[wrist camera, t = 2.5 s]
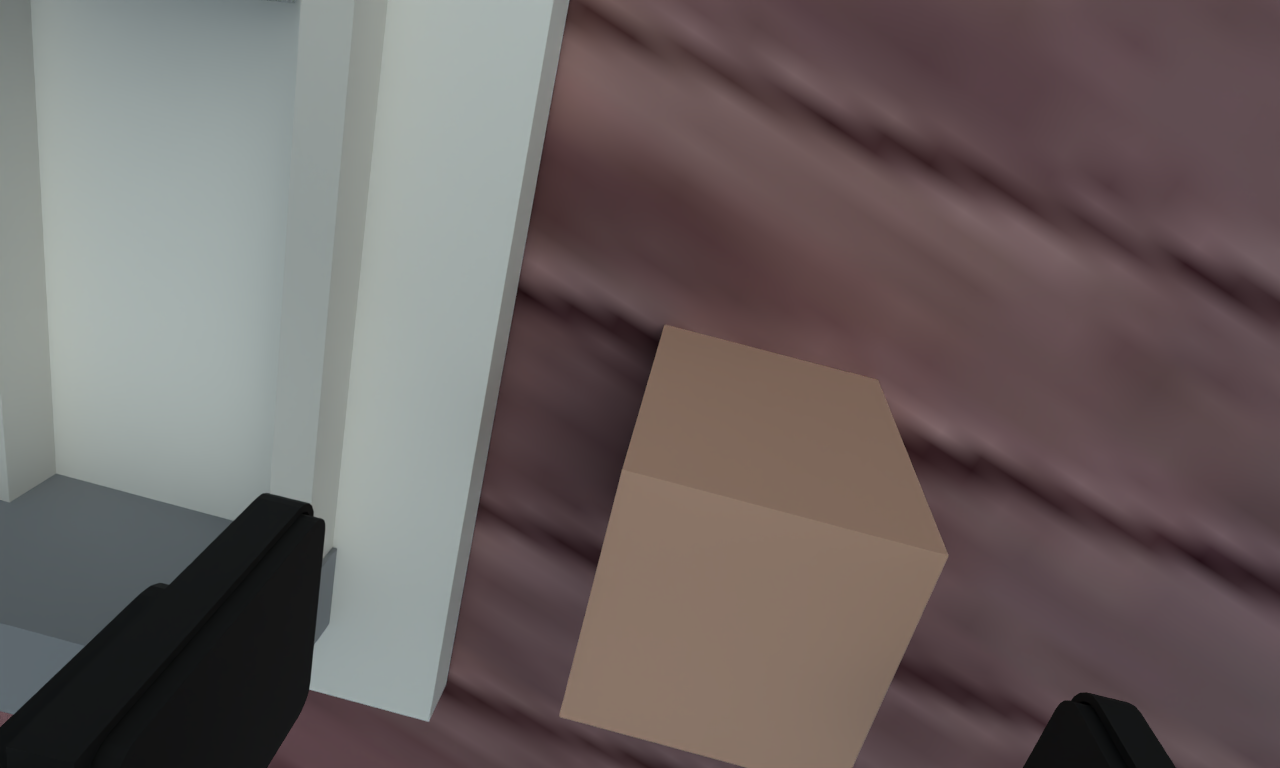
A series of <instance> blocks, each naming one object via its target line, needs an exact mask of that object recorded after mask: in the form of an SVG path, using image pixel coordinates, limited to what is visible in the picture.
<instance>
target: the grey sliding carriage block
mask: <svg viewBox="0 0 1280 768" xmlns="http://www.w3.org/2000/svg"><path fill="white" fill-rule="evenodd" d="M266 1H277V2H287V3H295V0H266Z"/></svg>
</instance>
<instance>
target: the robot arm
mask: <svg viewBox="0 0 1280 768" xmlns="http://www.w3.org/2000/svg"><path fill="white" fill-rule="evenodd" d="M324 539H325V521H324V520H323V519H322V518H317V517H314V511H313V507H312V505H311V504H310V503H307V502H303V501H299V500H295V499H290V498H286V497H282V496H278V495H274V494H270V493H262V494H261V495H260V496H258V497H257V498H256V499H255V500H254V501H253V502H252V503H251V504H250V505H249V506H248V507H247V508H246V509H245V510H244V511H243V512H242V513H241V514H240V515H239V516H238V517H237V518H236V519H235V520H234V521H233V522H232V523H231V524H230V525H229V526H228V527H227V528H226V529H225V530H224V531H223V532H222V533H221V534H220V535H219V536H218V537H217V538H216V539H215V540H214V541H213V542H212V543H211V544H210V545H209V546H208V547H207V548H206V549H205V550H204V551H203V552H202V553H201V554H200V555H199V556H198V557H197V558H196V559H195V560H194V561H193V562H192V563H191V564H190V565H188V566H187V567H186V568H185V569H184V570H183V571H182V572H181V573H180V574H179V575H178V576H177V577H176V578H175V579H174V580H173V581H172V582H171V583H170V584H169V585H168V584H164V583H157V584H154V585H151V586H149V587H148V588H147V589H145V590H144V591H143V592H141V593H140V594H139V595H138V596H137V597H136V598H135V599H134V600H133V601H132V602H131V603H130V604H128V605H127V606H126V607H125V608H124V609H123V610H122V611H121V612H120V613H119V614H118V615H117V616H116V617H115V618H114V619H113V620H112V621H111V622H110V623H109V624H108V625H107V626H106V627H104V628H103V629H102V630H101V631H100V632H99V633H98V634H97V635H96V636H95V637H94V638H93V639H92V640H91V641H90V642H89V643H88V644H87V645H86V646H85V647H84V648H83V649H82V650H80V651H79V652H78V653H77V654H76V655H75V656H74V657H73V658H72V659H71V660H70V661H69V662H68V663H67V664H66V665H65V666H64V667H63V668H62V669H61V670H60V671H59V672H57V673H56V674H55V675H54V676H53V677H52V678H51V679H50V680H49V681H48V682H47V683H46V684H45V685H44V686H43V687H42V688H41V689H40V690H39V691H38V692H37V693H36V694H35V695H33V696H32V697H31V698H30V699H29V700H28V701H27V702H26V703H25V704H24V705H23V706H22V707H21V708H20V709H19V710H18V711H17V712H16V713H15V714H14V715H13V716H12V717H10V718H9V719H8V720H7V721H6V722H5V723H4V724H3V725H2V726H1V727H0V768H267V767H268V765H269V763H270V762H271V760H272V759H273V757H274V755H275V754H276V752H277V750H278V749H279V747H280V746H281V744H282V742H283V741H284V739H285V737H286V736H287V734H288V733H289V731H290V729H291V728H292V726H293V724H294V723H295V721H296V720H297V718H298V716H299V714H300V713H301V711H302V708H303V706H304V704H305V701H306V698H307V695H308V692H309V687H310V681H311V670H312V660H313V650H314V640H315V630H316V620H317V610H318V600H319V590H320V580H321V569H322V559H323V549H324ZM1023 768H1176V767H1175V766H1174V764H1173V762H1172V761H1171V759H1170V758H1169V756H1168V755H1167V753H1166V752H1165V750H1164V748H1163V747H1162V745H1161V744H1160V742H1159V741H1158V739H1157V738H1156V736H1155V734H1154V733H1153V731H1152V730H1151V728H1150V727H1149V725H1148V724H1147V722H1146V720H1145V719H1144V717H1143V716H1142V714H1141V713H1140V712H1139V710H1138V709H1137V708H1136V707H1135V706H1134V705H1132V704H1130V703H1128V702H1124V701H1119V700H1115V699H1111V698H1107V697H1103V696H1099V695H1095V694H1091V693H1079V694H1077V695H1076V696H1074V697H1073V699H1072V700H1071V701H1063V702H1061V703H1060V704H1059V705H1058V707H1057V708H1056V710H1055V712H1054V713H1053V715H1052V717H1051V719H1050V720H1049V722H1048V724H1047V726H1046V728H1045V729H1044V731H1043V733H1042V735H1041V737H1040V738H1039V740H1038V742H1037V744H1036V745H1035V747H1034V749H1033V751H1032V753H1031V754H1030V756H1029V758H1028V760H1027V762H1026V763H1025V765H1024V767H1023Z"/></svg>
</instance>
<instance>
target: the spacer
mask: <svg viewBox="0 0 1280 768" xmlns="http://www.w3.org/2000/svg"><path fill="white" fill-rule="evenodd" d="M947 558H948V553H947V551H946V548H945V546H944V543H943V541H942V538H941V536H940V533H939V531H938V528H937V526H936V523H935V521H934V518H933V516H932V513H931V511H930V508H929V506H928V503H927V501H926V498H925V496H924V493H923V491H922V488H921V486H920V483H919V481H918V478H917V476H916V473H915V471H914V468H913V466H912V463H911V461H910V458H909V456H908V453H907V451H906V448H905V446H904V444H903V441H902V439H901V436H900V434H899V431H898V429H897V426H896V424H895V421H894V419H893V416H892V414H891V411H890V409H889V406H888V404H887V401H886V399H885V396H884V394H883V391H882V389H881V386H880V384H879V381H878V380H877V379H873V378H869V377H865V376H861V375H857V374H854V373H850V372H846V371H842V370H838V369H834V368H831V367H827V366H823V365H819V364H815V363H811V362H807V361H804V360H800V359H796V358H792V357H788V356H784V355H780V354H777V353H773V352H769V351H765V350H761V349H757V348H753V347H750V346H746V345H742V344H738V343H734V342H730V341H727V340H723V339H719V338H715V337H711V336H707V335H703V334H700V333H696V332H692V331H688V330H684V329H680V328H676V327H673V326H669V325H664V328H663V331H662V335H661V338H660V342H659V345H658V349H657V352H656V355H655V359H654V362H653V366H652V369H651V372H650V376H649V379H648V383H647V386H646V390H645V393H644V396H643V400H642V403H641V407H640V410H639V414H638V417H637V420H636V424H635V427H634V431H633V434H632V438H631V441H630V444H629V448H628V451H627V455H626V458H625V461H624V465H623V468H622V472H621V476H620V480H619V484H618V488H617V492H616V496H615V500H614V503H613V507H612V511H611V515H610V519H609V523H608V527H607V531H606V535H605V539H604V543H603V547H602V551H601V554H600V558H599V562H598V566H597V570H596V574H595V578H594V582H593V586H592V590H591V594H590V598H589V601H588V605H587V609H586V613H585V617H584V621H583V625H582V629H581V633H580V637H579V641H578V645H577V648H576V652H575V656H574V660H573V664H572V668H571V672H570V676H569V680H568V684H567V688H566V692H565V696H564V699H563V703H562V707H561V711H560V715H559V717H562V718H565V719H569V720H573V721H576V722H580V723H584V724H587V725H591V726H595V727H599V728H602V729H606V730H610V731H613V732H617V733H621V734H624V735H628V736H632V737H635V738H639V739H643V740H647V741H650V742H654V743H658V744H661V745H665V746H669V747H672V748H676V749H680V750H683V751H687V752H691V753H695V754H698V755H702V756H706V757H709V758H713V759H717V760H720V761H724V762H728V763H731V764H735V765H739V766H743V767H746V768H852V767H853V765H854V763H855V760H856V758H857V756H858V754H859V752H860V749H861V747H862V745H863V743H864V741H865V738H866V736H867V734H868V732H869V730H870V727H871V725H872V723H873V721H874V719H875V716H876V714H877V712H878V710H879V708H880V705H881V703H882V701H883V699H884V697H885V694H886V692H887V690H888V688H889V686H890V683H891V681H892V679H893V677H894V675H895V672H896V670H897V668H898V666H899V664H900V661H901V659H902V657H903V655H904V653H905V650H906V648H907V646H908V644H909V642H910V639H911V637H912V635H913V633H914V631H915V628H916V626H917V624H918V622H919V620H920V617H921V615H922V613H923V611H924V609H925V606H926V604H927V602H928V600H929V598H930V595H931V593H932V591H933V589H934V587H935V584H936V582H937V580H938V578H939V576H940V573H941V571H942V569H943V567H944V565H945V562H946V560H947Z"/></svg>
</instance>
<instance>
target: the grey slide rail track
mask: <svg viewBox="0 0 1280 768" xmlns="http://www.w3.org/2000/svg"><path fill="white" fill-rule="evenodd" d="M568 5H569V0H295V3H287V2H277V1H266V0H0V711H2V712H6V713H10V714H13V715H14V714H15V713H16V712H17V711H18V710H19V709H20V708H21V707H22V706H23V705H24V704H25V703H26V702H27V701H28V700H29V699H30V698H31V697H32V696H33V695H35V694H36V693H37V692H38V691H39V690H40V689H41V688H42V687H43V686H44V685H45V684H46V683H47V682H48V681H49V680H50V679H51V678H52V677H53V676H54V675H55V674H56V673H57V672H59V671H60V670H61V669H62V668H63V667H64V666H65V665H66V664H67V663H68V662H69V661H70V660H71V659H72V658H73V657H74V656H75V655H76V654H77V653H78V652H79V651H80V650H82V649H83V648H84V647H85V646H86V645H87V644H88V643H89V642H90V641H91V640H92V639H93V638H94V637H95V636H96V635H97V634H98V633H99V632H100V631H101V630H102V629H103V628H104V627H106V626H107V625H108V624H109V623H110V622H111V621H112V620H113V619H114V618H115V617H116V616H117V615H118V614H119V613H120V612H121V611H122V610H123V609H124V608H125V607H126V606H127V605H128V604H130V603H131V602H132V601H133V600H134V599H135V598H136V597H137V596H138V595H139V594H140V593H141V592H143V591H144V590H145V589H147V588H148V587H149V586H151V585H154V584H157V583H164V584H168V585H169V584H170V583H171V582H172V581H173V580H174V579H175V578H176V577H177V576H178V575H179V574H180V573H181V572H182V571H183V570H184V569H185V568H186V567H187V566H188V565H190V564H191V563H192V562H193V561H194V560H195V559H196V558H197V557H198V556H199V555H200V554H201V553H202V552H203V551H204V550H205V549H206V548H207V547H208V546H209V545H210V544H211V543H212V542H213V541H214V540H215V539H216V538H217V537H218V536H219V535H220V534H221V533H222V532H223V531H224V530H225V529H226V528H227V527H228V526H229V525H230V524H231V523H232V522H233V521H234V520H235V519H236V518H237V517H238V516H239V515H240V514H241V513H242V512H243V511H244V510H245V509H246V508H247V507H248V506H249V505H250V504H251V503H252V502H253V501H254V500H255V499H256V498H257V497H258V496H260V495H261V494H262V493H270V494H274V495H278V496H282V497H286V498H290V499H295V500H299V501H303V502H307V503H310V504H311V505H312V507H313V511H314V517H317V518H322V519H323V520H324V521H325V539H324V549H323V559H322V569H321V580H320V590H319V600H318V610H317V620H316V630H315V640H314V650H313V660H312V670H311V681H310V687H309V690H313V691H317V692H320V693H324V694H328V695H332V696H335V697H339V698H343V699H346V700H350V701H354V702H358V703H361V704H365V705H369V706H372V707H376V708H380V709H383V710H387V711H391V712H395V713H398V714H402V715H406V716H409V717H413V718H417V719H420V720H424V721H428V722H429V720H430V718H431V716H432V714H433V712H434V709H435V707H436V705H437V703H438V701H439V699H440V697H441V694H442V692H443V690H444V688H445V686H446V683H447V677H448V672H449V666H450V661H451V655H452V650H453V644H454V638H455V633H456V627H457V622H458V616H459V611H460V605H461V600H462V594H463V588H464V583H465V577H466V572H467V566H468V561H469V555H470V550H471V544H472V538H473V533H474V527H475V522H476V516H477V511H478V505H479V500H480V494H481V488H482V483H483V477H484V472H485V466H486V461H487V455H488V450H489V444H490V438H491V433H492V427H493V422H494V416H495V411H496V405H497V400H498V394H499V388H500V383H501V377H502V372H503V366H504V361H505V355H506V350H507V344H508V338H509V333H510V327H511V322H512V316H513V311H514V305H515V300H516V294H517V288H518V283H519V277H520V272H521V266H522V261H523V255H524V250H525V244H526V238H527V233H528V227H529V222H530V216H531V211H532V205H533V200H534V194H535V189H536V183H537V177H538V172H539V166H540V161H541V155H542V150H543V144H544V139H545V133H546V127H547V122H548V116H549V111H550V105H551V100H552V94H553V89H554V83H555V77H556V72H557V66H558V61H559V55H560V50H561V44H562V39H563V33H564V27H565V22H566V16H567V11H568Z"/></svg>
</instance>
